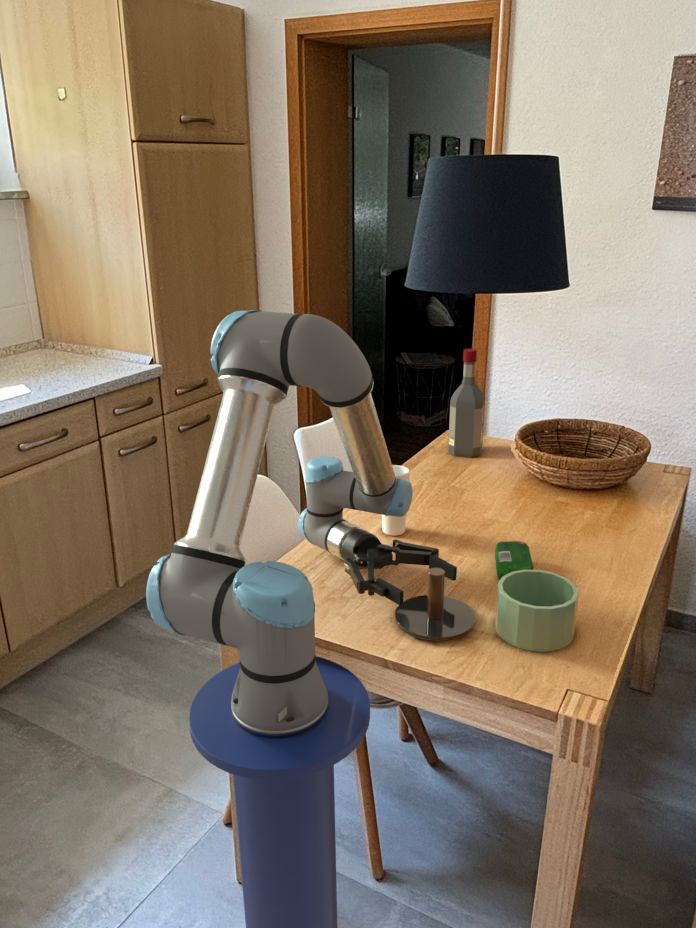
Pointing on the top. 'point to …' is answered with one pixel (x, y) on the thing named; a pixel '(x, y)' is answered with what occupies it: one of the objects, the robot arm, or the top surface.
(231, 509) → the robot arm
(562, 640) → the pot
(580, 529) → the top surface
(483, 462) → the top surface
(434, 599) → the lid
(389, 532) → the drinking glass
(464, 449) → the liquor
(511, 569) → the snack package
